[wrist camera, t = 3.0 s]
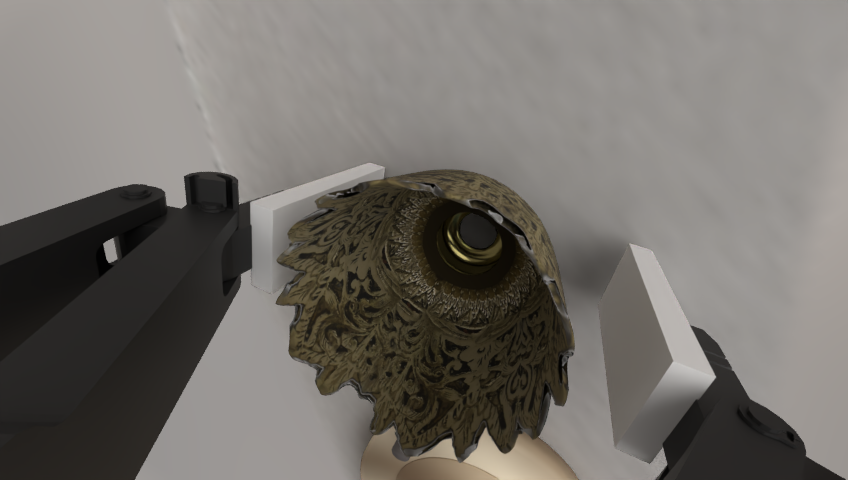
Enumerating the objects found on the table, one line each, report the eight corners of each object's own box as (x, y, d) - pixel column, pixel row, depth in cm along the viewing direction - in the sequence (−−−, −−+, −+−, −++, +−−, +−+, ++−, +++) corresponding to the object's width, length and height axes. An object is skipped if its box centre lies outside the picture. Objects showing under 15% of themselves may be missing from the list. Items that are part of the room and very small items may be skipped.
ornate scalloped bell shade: (371, 235, 17) (237, 327, 10) (460, 99, 14) (343, 103, 7) (493, 336, 17) (436, 503, 10) (618, 223, 13) (667, 364, 6)
